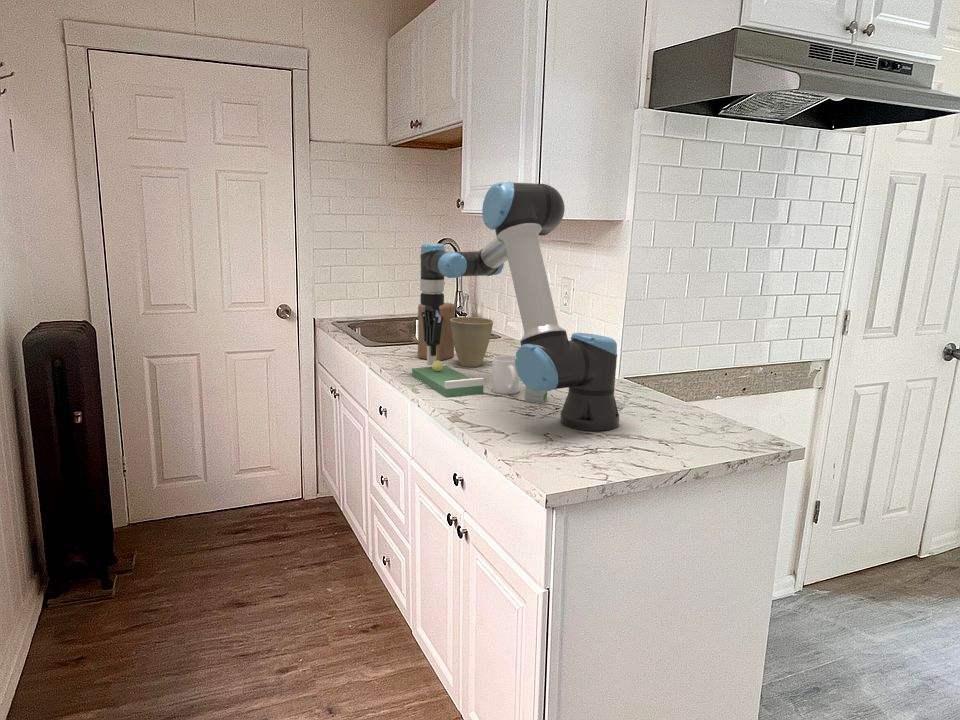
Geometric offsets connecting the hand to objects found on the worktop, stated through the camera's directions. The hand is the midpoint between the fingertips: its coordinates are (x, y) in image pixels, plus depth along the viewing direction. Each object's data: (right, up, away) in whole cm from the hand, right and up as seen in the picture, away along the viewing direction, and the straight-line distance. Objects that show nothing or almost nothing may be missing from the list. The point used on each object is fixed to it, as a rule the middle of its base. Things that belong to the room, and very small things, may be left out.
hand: (431, 364), depth 226 cm
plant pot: (+13, 0, +18) cm, 22 cm away
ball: (+2, 0, -4) cm, 5 cm away
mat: (+5, -6, -10) cm, 13 cm away
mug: (+24, -9, -18) cm, 31 cm away
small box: (+32, -10, -25) cm, 42 cm away
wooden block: (0, +2, +28) cm, 28 cm away
